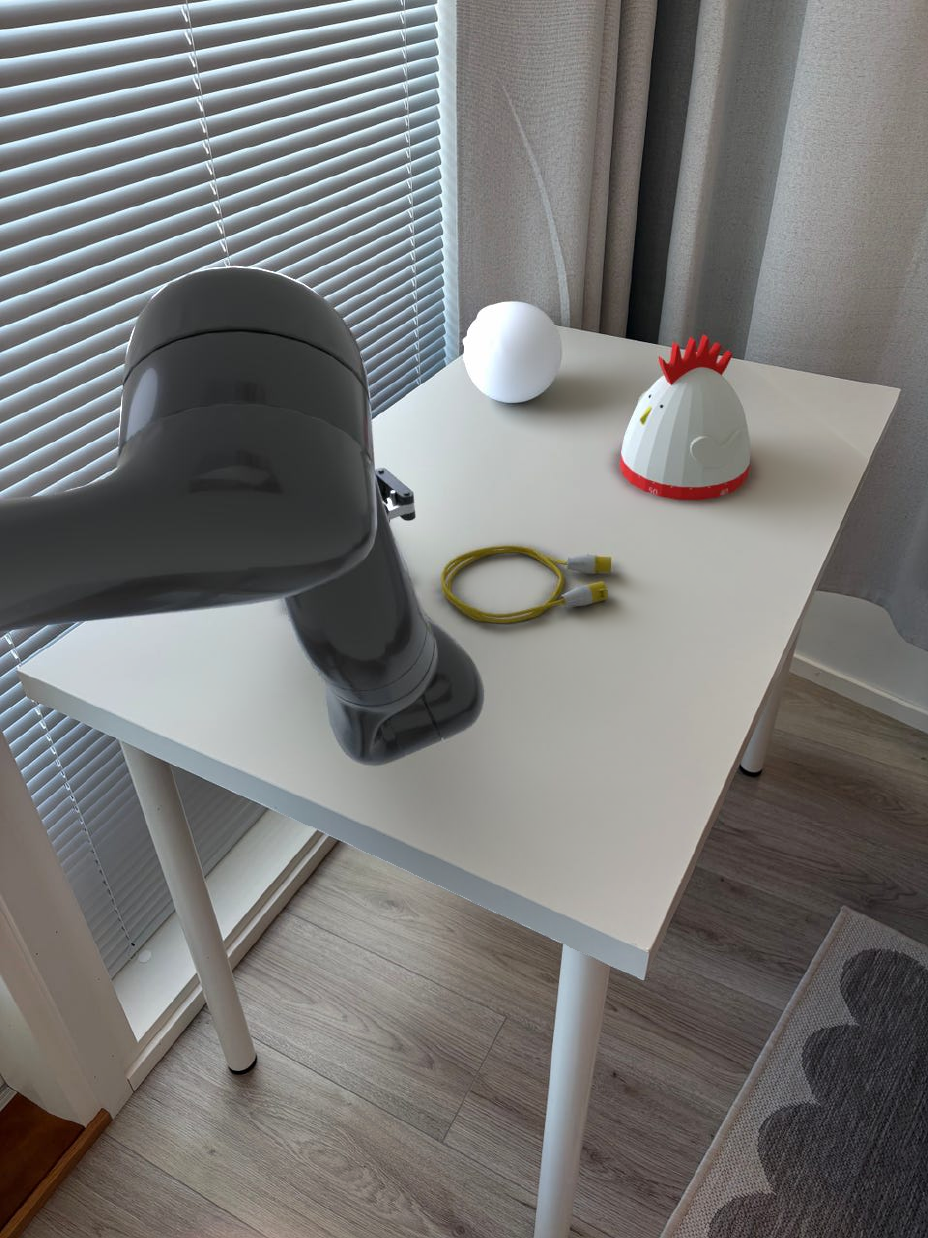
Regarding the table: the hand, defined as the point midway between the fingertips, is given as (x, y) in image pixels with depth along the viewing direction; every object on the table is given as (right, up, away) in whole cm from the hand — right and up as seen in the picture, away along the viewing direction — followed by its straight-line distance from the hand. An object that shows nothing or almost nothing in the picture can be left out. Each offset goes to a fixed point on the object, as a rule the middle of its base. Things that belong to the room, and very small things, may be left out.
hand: (320, 466), depth 89 cm
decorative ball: (+20, +14, +31) cm, 39 cm away
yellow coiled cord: (+19, -12, 0) cm, 23 cm away
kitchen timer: (+38, +2, +16) cm, 41 cm away
